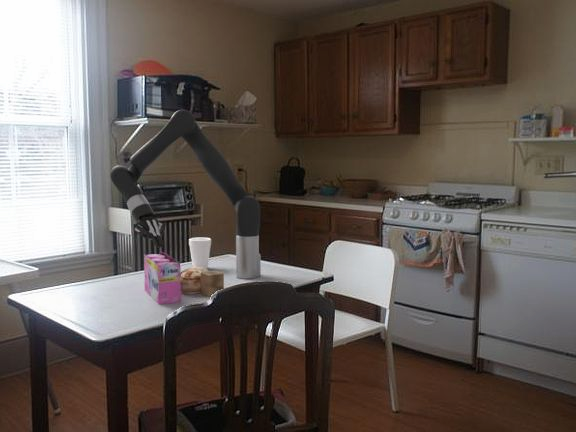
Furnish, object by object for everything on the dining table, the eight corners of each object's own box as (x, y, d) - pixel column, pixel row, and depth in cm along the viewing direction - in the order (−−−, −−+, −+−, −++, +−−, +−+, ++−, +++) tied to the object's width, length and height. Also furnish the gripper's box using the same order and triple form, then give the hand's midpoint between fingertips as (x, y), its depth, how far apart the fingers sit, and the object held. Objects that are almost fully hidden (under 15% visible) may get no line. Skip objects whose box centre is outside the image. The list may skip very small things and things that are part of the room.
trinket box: (209, 283, 212) (208, 263, 211) (217, 292, 198) (217, 271, 197) (174, 285, 207) (174, 265, 206) (180, 295, 193) (180, 273, 192)
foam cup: (209, 270, 233) (208, 241, 231) (187, 270, 233) (187, 240, 231) (212, 266, 242) (212, 237, 241) (191, 265, 242) (191, 237, 241)
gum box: (143, 288, 202) (142, 252, 201) (164, 286, 206) (163, 251, 204) (158, 304, 181) (157, 265, 180) (181, 302, 185) (181, 263, 183)
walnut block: (215, 291, 199) (215, 270, 198) (223, 295, 194) (223, 273, 193) (201, 294, 195) (200, 272, 194) (208, 297, 190) (208, 275, 189)
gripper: (128, 204, 195) (148, 241, 188) (159, 201, 204) (179, 237, 198) (121, 217, 199) (140, 254, 192) (151, 214, 208) (171, 250, 202)
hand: (160, 246), depth 195 cm, fingers closed
